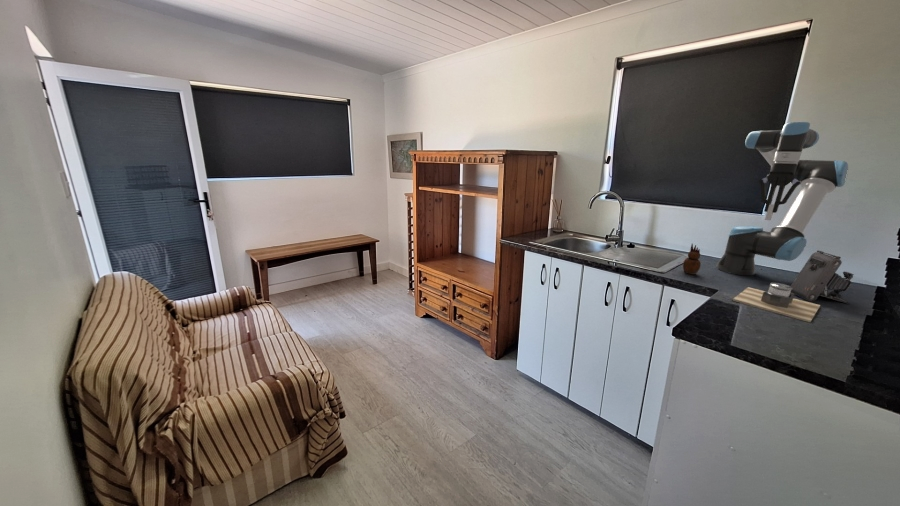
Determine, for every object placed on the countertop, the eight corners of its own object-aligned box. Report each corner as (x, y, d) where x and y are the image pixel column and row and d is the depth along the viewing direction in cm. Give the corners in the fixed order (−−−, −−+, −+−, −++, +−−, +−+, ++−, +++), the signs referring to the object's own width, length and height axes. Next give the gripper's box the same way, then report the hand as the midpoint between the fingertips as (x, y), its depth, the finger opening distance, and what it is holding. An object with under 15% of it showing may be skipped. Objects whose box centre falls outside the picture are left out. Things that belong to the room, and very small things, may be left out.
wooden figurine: (679, 271, 167) (685, 242, 163) (686, 270, 170) (693, 241, 165) (693, 276, 162) (700, 246, 157) (700, 274, 164) (707, 245, 160)
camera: (846, 313, 134) (880, 269, 127) (802, 299, 135) (833, 254, 129) (822, 302, 144) (853, 260, 138) (782, 289, 146) (810, 247, 139)
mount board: (747, 288, 147) (748, 287, 147) (819, 307, 130) (820, 305, 130) (732, 300, 134) (733, 298, 134) (810, 322, 117) (810, 320, 117)
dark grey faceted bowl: (766, 295, 138) (769, 286, 137) (792, 302, 132) (795, 292, 131) (759, 301, 132) (762, 292, 131) (786, 308, 126) (790, 299, 125)
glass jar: (767, 297, 136) (772, 281, 134) (788, 303, 131) (794, 286, 129) (763, 301, 132) (768, 284, 130) (785, 307, 128) (790, 290, 126)
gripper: (761, 162, 138) (745, 218, 145) (806, 163, 128) (786, 223, 135) (766, 162, 142) (750, 216, 149) (809, 163, 132) (790, 221, 139)
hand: (767, 219), depth 142 cm, fingers closed
